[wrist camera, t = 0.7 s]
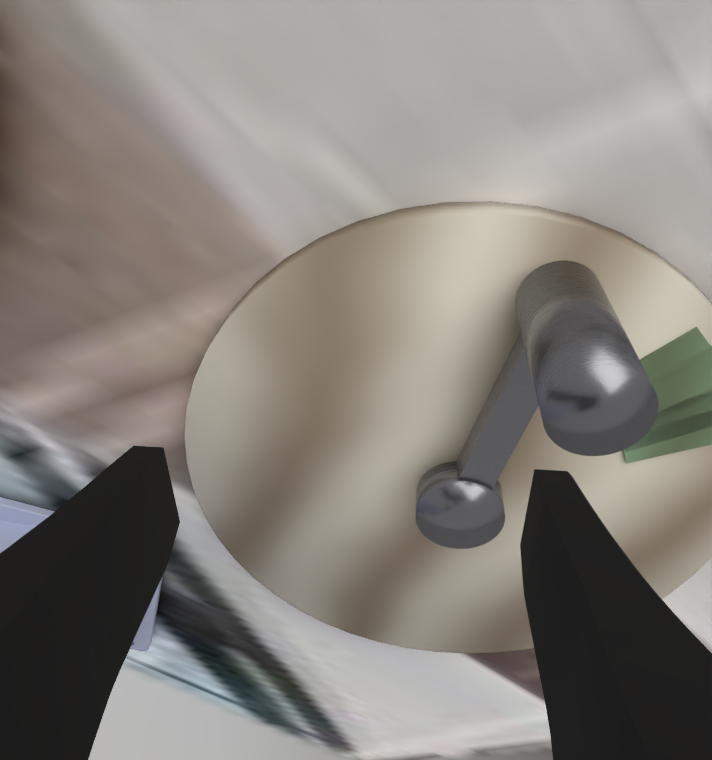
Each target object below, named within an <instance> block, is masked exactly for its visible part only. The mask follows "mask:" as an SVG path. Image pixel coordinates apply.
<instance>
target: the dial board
mask: <svg viewBox="0 0 712 760" xmlns="http://www.w3.org/2000/svg"><path fill="white" fill-rule="evenodd" d="M563 260H567V261H574V262H578V263H580V264H583V265H585V266H586V267H588V268H589V269H591V270H592V271H593V272H594V273H595V275H596V276H597V277H598V279H599V281H600V283H601V285H602V287H603V289H604V291H605V293H606V295H607V297H608V299H609V301H610V303H611V305H612V307H613V309H614V311H615V313H616V315H617V317H618V319H619V321H620V323H621V325H622V326H623V328H624V330H625V332H626V334H627V336H628V338H629V340H630V342H631V344H632V346H633V348H634V350H635V352H636V354H637V356H638V358H639V360H640V362H641V364H642V366H643V368H644V370H645V372H646V374H647V376H648V378H649V380H650V382H651V383H652V385H653V387H654V389H655V391H656V394H657V397H658V403H659V408H658V414H657V418H656V420H655V422H654V424H653V426H652V428H651V429H650V430H649V432H648V433H647V434H646V435H645V436H644V437H643V438H642V439H641V440H639V441H638V442H637V443H635V444H634V445H632V446H631V447H629V448H627V449H624V450H622V451H619V452H617V453H613V454H609V455H603V456H583V455H578V454H574V453H571V452H568V451H566V450H564V449H562V448H560V447H559V446H557V445H556V444H555V443H554V442H553V441H552V440H551V439H550V438H549V436H548V435H547V433H546V431H545V429H544V426H543V421H542V417H541V413H540V409H539V406H538V408H537V409H536V411H535V413H534V415H533V417H532V419H531V420H530V422H529V424H528V426H527V428H526V429H525V431H524V433H523V435H522V437H521V438H520V440H519V442H518V444H517V446H516V448H515V449H514V451H513V453H512V455H511V457H510V458H509V460H508V462H507V464H506V466H505V467H504V469H503V471H502V473H501V475H500V477H499V478H498V480H499V482H500V484H501V488H502V495H503V503H504V511H505V523H504V526H503V528H502V530H501V531H500V533H499V534H498V535H497V536H496V537H495V538H494V539H492V540H491V541H489V542H488V543H486V544H483V545H481V546H478V547H474V548H468V549H454V548H448V547H444V546H440V545H438V544H436V543H434V542H432V541H430V540H429V539H427V538H426V537H425V536H424V535H423V534H422V533H421V531H420V530H419V528H418V526H417V523H416V489H417V485H418V482H419V480H420V478H421V477H422V476H423V475H424V474H425V473H426V472H427V471H428V470H430V469H431V468H433V467H435V466H437V465H439V464H442V463H446V462H451V461H457V459H458V457H459V455H460V453H461V451H462V449H463V446H464V444H465V442H466V440H467V438H468V436H469V434H470V432H471V430H472V428H473V426H474V424H475V422H476V420H477V418H478V416H479V414H480V412H481V410H482V408H483V406H484V404H485V402H486V400H487V398H488V396H489V394H490V392H491V389H492V387H493V385H494V383H495V381H496V379H497V377H498V375H499V373H500V371H501V369H502V367H503V365H504V363H505V361H506V359H507V357H508V355H509V353H510V351H511V349H512V347H513V345H514V343H515V341H516V339H517V337H518V335H519V332H520V330H521V328H520V324H519V320H518V316H517V312H516V306H515V300H516V294H517V291H518V288H519V286H520V285H521V283H522V281H523V280H524V279H525V278H526V277H527V275H528V274H530V273H531V272H532V271H533V270H535V269H536V268H538V267H540V266H542V265H544V264H547V263H550V262H554V261H563ZM185 447H186V458H187V466H188V470H189V474H190V478H191V482H192V486H193V489H194V492H195V495H196V497H197V499H198V502H199V504H200V506H201V509H202V511H203V513H204V515H205V517H206V519H207V520H208V522H209V524H210V525H211V527H212V529H213V530H214V532H215V534H216V535H217V537H218V539H219V540H220V541H221V542H222V544H223V545H224V546H225V547H226V549H227V550H228V551H229V552H230V554H231V555H232V556H233V557H234V559H235V560H236V561H237V562H238V563H239V564H240V565H241V566H242V567H243V568H244V569H245V570H246V571H247V572H248V573H249V574H251V575H252V576H253V577H254V578H255V579H256V580H257V581H258V582H260V583H261V584H262V585H264V586H265V587H266V588H267V589H269V590H270V591H271V592H272V593H274V594H275V595H276V596H278V597H280V598H281V599H283V600H284V601H286V602H287V603H289V604H291V605H292V606H294V607H295V608H297V609H298V610H300V611H302V612H304V613H306V614H308V615H310V616H312V617H314V618H316V619H318V620H320V621H322V622H324V623H326V624H329V625H331V626H334V627H336V628H339V629H341V630H344V631H346V632H349V633H351V634H355V635H358V636H361V637H365V638H368V639H371V640H375V641H378V642H382V643H387V644H392V645H396V646H401V647H406V648H412V649H420V650H427V651H435V652H452V653H493V652H505V651H514V650H523V649H530V648H534V644H533V639H532V634H531V629H530V624H529V619H528V613H527V608H526V603H525V598H524V589H523V578H522V565H521V551H520V543H521V537H522V532H523V527H524V521H525V516H526V511H527V505H528V500H529V495H530V490H531V484H532V479H533V474H534V469H540V470H557V471H568V472H569V473H570V474H571V475H572V477H573V478H574V480H575V481H576V483H577V485H578V486H579V488H580V489H581V491H582V492H583V494H584V495H585V497H586V499H587V500H588V502H589V503H590V505H591V506H592V508H593V509H594V511H595V512H596V514H597V515H598V517H599V518H600V519H601V521H602V522H603V524H604V525H605V527H606V528H607V530H608V531H609V532H610V534H611V535H612V537H613V538H614V539H615V541H616V542H617V543H618V545H619V546H620V547H621V549H622V550H623V551H624V553H625V554H626V555H627V557H628V558H629V559H630V561H631V562H632V563H633V565H634V566H635V567H636V568H637V570H638V571H639V572H640V574H641V575H642V576H643V577H644V579H645V580H646V581H647V582H648V583H649V585H650V586H651V587H652V588H653V589H654V591H655V592H656V593H657V594H658V595H659V597H660V598H661V599H662V598H664V597H666V596H667V595H669V594H670V593H671V592H672V591H674V590H675V589H676V588H678V587H679V586H680V585H681V584H683V583H684V582H685V581H687V580H688V579H689V578H690V577H692V576H693V575H694V574H695V573H696V572H697V571H698V570H699V569H700V568H701V567H702V566H703V565H704V564H705V563H706V562H707V561H708V560H709V559H710V558H711V557H712V304H711V303H710V302H709V301H708V300H707V299H706V297H705V296H704V295H703V294H702V293H701V292H700V291H699V290H698V289H697V287H696V286H695V285H694V284H693V283H692V282H691V281H690V280H689V279H688V278H687V277H686V276H685V275H683V274H682V273H681V272H680V271H678V270H677V269H676V268H675V267H673V266H672V265H671V264H670V263H668V262H667V261H666V260H665V259H663V258H662V257H661V256H660V255H658V254H657V253H655V252H653V251H652V250H650V249H648V248H646V247H645V246H643V245H641V244H639V243H638V242H636V241H634V240H632V239H631V238H629V237H627V236H625V235H624V234H622V233H620V232H617V231H615V230H612V229H610V228H607V227H605V226H602V225H599V224H597V223H594V222H592V221H589V220H587V219H584V218H582V217H578V216H574V215H570V214H566V213H562V212H558V211H554V210H549V209H545V208H541V207H537V206H528V205H519V204H510V203H500V202H446V203H439V204H432V205H425V206H419V207H412V208H405V209H400V210H396V211H393V212H389V213H386V214H382V215H378V216H375V217H371V218H368V219H364V220H361V221H358V222H355V223H353V224H351V225H348V226H346V227H344V228H342V229H339V230H337V231H335V232H332V233H330V234H328V235H325V236H323V237H321V238H319V239H317V240H316V241H314V242H312V243H311V244H309V245H307V246H306V247H304V248H302V249H301V250H299V251H297V252H296V253H294V254H292V255H291V256H289V257H287V258H286V259H285V260H283V261H282V262H281V263H280V264H278V265H277V266H276V267H275V268H274V269H272V270H271V271H270V272H269V273H267V274H266V275H265V276H264V277H263V278H261V279H260V280H259V281H258V282H257V283H256V284H255V285H254V286H253V287H252V288H251V289H250V290H249V291H248V292H247V294H246V295H245V296H244V297H243V298H242V299H241V300H240V301H239V302H238V303H237V305H236V306H235V307H234V308H233V309H232V311H231V312H230V314H229V315H228V317H227V318H226V320H225V321H224V323H223V325H222V326H221V328H220V329H219V331H218V332H217V334H216V335H215V337H214V339H213V341H212V342H211V344H210V346H209V348H208V349H207V351H206V354H205V356H204V358H203V360H202V363H201V365H200V367H199V369H198V372H197V374H196V376H195V379H194V382H193V386H192V390H191V394H190V398H189V402H188V405H187V412H186V425H185Z"/></svg>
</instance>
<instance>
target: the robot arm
mask: <svg viewBox="0 0 712 760" xmlns="http://www.w3.org/2000/svg"><path fill="white" fill-rule="evenodd" d="M179 523H180V520H179V516H178V511H177V507H176V502H175V498H174V493H173V489H172V484H171V480H170V475H169V471H168V466H167V462H166V457H165V453H164V448H161V447H144V446H133V447H132V448H131V449H129V450H128V451H127V452H126V453H124V454H123V455H122V456H121V457H120V458H118V459H117V460H116V461H115V462H114V463H112V464H111V465H110V466H109V467H108V468H107V469H105V470H104V471H103V472H102V473H101V474H100V475H98V476H97V477H96V478H95V479H94V480H92V481H91V482H90V483H89V484H88V485H87V486H85V487H84V488H83V489H82V490H81V491H79V492H78V493H77V494H76V495H75V496H73V497H72V498H71V499H70V500H68V501H67V502H66V503H65V504H64V505H62V506H61V507H60V508H59V509H58V510H56V511H52V510H48V509H44V508H40V507H36V506H33V505H29V504H25V503H21V502H18V501H14V500H10V499H6V498H2V497H0V760H88V758H89V755H90V752H91V749H92V745H93V742H94V740H95V737H96V733H97V731H98V728H99V725H100V722H101V719H102V716H103V713H104V710H105V707H106V704H107V701H108V698H109V696H110V693H111V691H112V688H113V685H114V683H115V681H116V678H117V676H118V673H119V671H120V669H121V666H122V664H123V662H124V660H125V658H126V656H127V653H128V651H129V649H134V650H139V651H145V650H147V649H149V647H150V645H151V642H152V637H153V631H154V625H155V620H156V614H157V608H158V602H159V596H160V590H161V584H162V578H163V574H164V571H165V569H166V566H167V563H168V560H169V557H170V554H171V550H172V547H173V544H174V540H175V537H176V533H177V530H178V526H179ZM520 551H521V565H522V578H523V589H524V598H525V603H526V608H527V613H528V619H529V624H530V629H531V634H532V639H533V644H534V649H535V654H536V659H537V664H538V669H539V674H540V679H541V684H542V689H543V694H544V699H545V704H546V709H547V715H548V721H549V727H550V734H551V743H552V752H553V760H712V653H711V652H710V651H709V650H708V649H707V648H706V647H705V646H704V645H703V644H702V643H701V642H700V641H699V640H698V639H697V638H696V637H695V636H694V635H693V634H692V633H691V631H690V630H689V629H688V628H687V627H686V626H685V625H684V624H683V623H682V622H681V621H680V620H679V618H678V617H677V616H676V615H675V614H674V613H673V612H672V611H671V609H670V608H669V607H668V606H667V605H666V604H665V603H664V601H663V600H662V599H661V598H660V597H659V595H658V594H657V593H656V592H655V591H654V589H653V588H652V587H651V586H650V585H649V583H648V582H647V581H646V580H645V579H644V577H643V576H642V575H641V574H640V572H639V571H638V570H637V568H636V567H635V566H634V565H633V563H632V562H631V561H630V559H629V558H628V557H627V555H626V554H625V553H624V551H623V550H622V549H621V547H620V546H619V545H618V543H617V542H616V541H615V539H614V538H613V537H612V535H611V534H610V532H609V531H608V530H607V528H606V527H605V525H604V524H603V522H602V521H601V519H600V518H599V517H598V515H597V514H596V512H595V511H594V509H593V508H592V506H591V505H590V503H589V502H588V500H587V499H586V497H585V495H584V494H583V492H582V491H581V489H580V488H579V486H578V485H577V483H576V481H575V480H574V478H573V477H572V475H571V474H570V473H569V472H568V471H557V470H540V469H534V474H533V479H532V484H531V490H530V495H529V500H528V505H527V511H526V516H525V521H524V527H523V532H522V537H521V543H520Z"/></svg>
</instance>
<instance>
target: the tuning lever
mask: <svg viewBox="0 0 712 760" xmlns="http://www.w3.org/2000/svg"><path fill="white" fill-rule="evenodd" d="M515 306H516V312H517V316H518V320H519V324H520V328H521V330H520V332H519V335H518V337H517V339H516V341H515V343H514V345H513V347H512V349H511V351H510V353H509V355H508V357H507V359H506V361H505V363H504V365H503V367H502V369H501V371H500V373H499V375H498V377H497V379H496V381H495V383H494V385H493V387H492V389H491V392H490V394H489V396H488V398H487V400H486V402H485V404H484V406H483V408H482V410H481V412H480V414H479V416H478V418H477V420H476V422H475V424H474V426H473V428H472V430H471V432H470V434H469V436H468V438H467V440H466V442H465V444H464V446H463V449H462V451H461V453H460V455H459V457H458V459H457V461H451V462H446V463H442V464H439V465H437V466H435V467H433V468H431V469H430V470H428V471H427V472H426V473H425V474H424V475H423V476H422V477H421V478H420V480H419V482H418V485H417V489H416V523H417V526H418V528H419V530H420V531H421V533H422V534H423V535H424V536H425V537H426V538H427V539H429V540H430V541H432V542H434V543H436V544H438V545H440V546H444V547H448V548H454V549H468V548H474V547H478V546H481V545H483V544H486V543H488V542H489V541H491V540H492V539H494V538H495V537H496V536H497V535H498V534H499V533H500V531H501V530H502V528H503V526H504V523H505V511H504V503H503V495H502V488H501V484H500V482H499V480H498V478H499V477H500V475H501V473H502V471H503V469H504V467H505V466H506V464H507V462H508V460H509V458H510V457H511V455H512V453H513V451H514V449H515V448H516V446H517V444H518V442H519V440H520V438H521V437H522V435H523V433H524V431H525V429H526V428H527V426H528V424H529V422H530V420H531V419H532V417H533V415H534V413H535V411H536V409H537V408H538V406H539V409H540V413H541V417H542V421H543V426H544V429H545V431H546V433H547V435H548V436H549V438H550V439H551V440H552V441H553V442H554V443H555V444H556V445H557V446H559V447H560V448H562V449H564V450H566V451H568V452H571V453H574V454H578V455H583V456H603V455H609V454H613V453H617V452H619V451H622V450H624V449H627V448H629V447H631V446H632V445H634V444H635V443H637V442H638V441H639V440H641V439H642V438H643V437H644V436H645V435H646V434H647V433H648V432H649V430H650V429H651V428H652V426H653V424H654V422H655V420H656V418H657V414H658V408H659V403H658V397H657V394H656V391H655V389H654V387H653V385H652V383H651V382H650V380H649V378H648V376H647V374H646V372H645V370H644V368H643V366H642V364H641V362H640V360H639V358H638V356H637V354H636V352H635V350H634V348H633V346H632V344H631V342H630V340H629V338H628V336H627V334H626V332H625V330H624V328H623V326H622V325H621V323H620V321H619V319H618V317H617V315H616V313H615V311H614V309H613V307H612V305H611V303H610V301H609V299H608V297H607V295H606V293H605V291H604V289H603V287H602V285H601V283H600V281H599V279H598V277H597V276H596V275H595V273H594V272H593V271H592V270H591V269H589V268H588V267H586V266H585V265H583V264H580V263H578V262H574V261H567V260H563V261H554V262H550V263H547V264H544V265H542V266H540V267H538V268H536V269H535V270H533V271H532V272H531V273H530V274H528V275H527V277H526V278H525V279H524V280H523V281H522V283H521V285H520V286H519V288H518V291H517V294H516V300H515Z"/></svg>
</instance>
